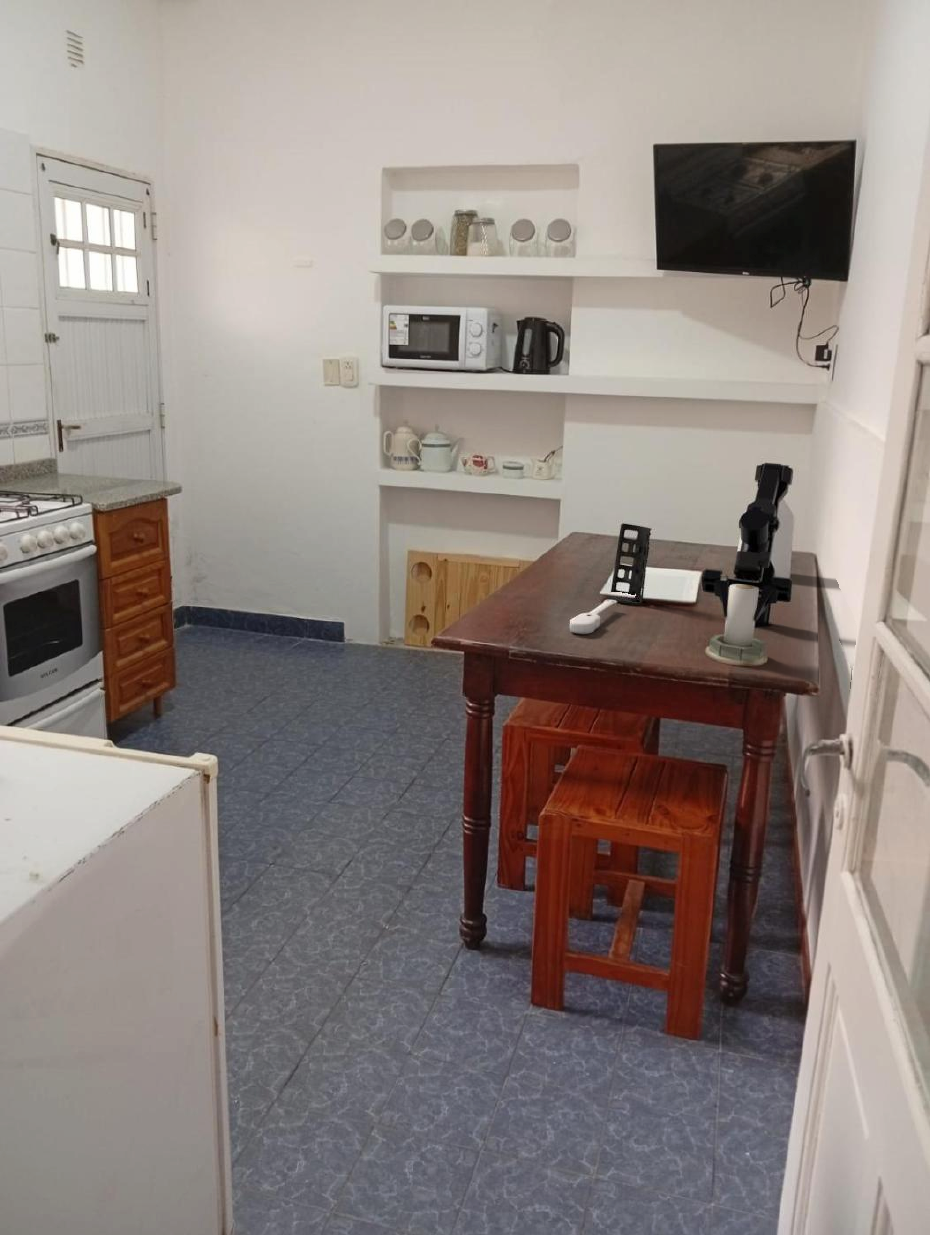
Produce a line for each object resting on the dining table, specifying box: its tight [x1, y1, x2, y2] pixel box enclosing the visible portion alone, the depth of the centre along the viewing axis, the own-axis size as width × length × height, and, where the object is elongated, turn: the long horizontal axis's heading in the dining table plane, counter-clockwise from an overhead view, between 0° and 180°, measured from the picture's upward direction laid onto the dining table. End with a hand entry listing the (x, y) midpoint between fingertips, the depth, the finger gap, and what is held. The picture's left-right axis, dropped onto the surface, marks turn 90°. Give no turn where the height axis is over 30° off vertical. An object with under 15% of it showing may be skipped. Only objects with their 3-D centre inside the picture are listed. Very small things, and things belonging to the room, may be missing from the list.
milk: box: [736, 497, 795, 578], centre depth 299 cm, size 12×12×26 cm
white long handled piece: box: [569, 599, 618, 635], centre depth 237 cm, size 28×6×3 cm, turn 155°
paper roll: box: [723, 584, 759, 647], centre depth 211 cm, size 6×6×13 cm
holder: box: [609, 523, 652, 607], centre depth 258 cm, size 11×8×20 cm
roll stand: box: [704, 634, 769, 667], centre depth 213 cm, size 13×13×4 cm
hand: (739, 617), depth 210 cm, fingers closed on paper roll, 6 cm apart
